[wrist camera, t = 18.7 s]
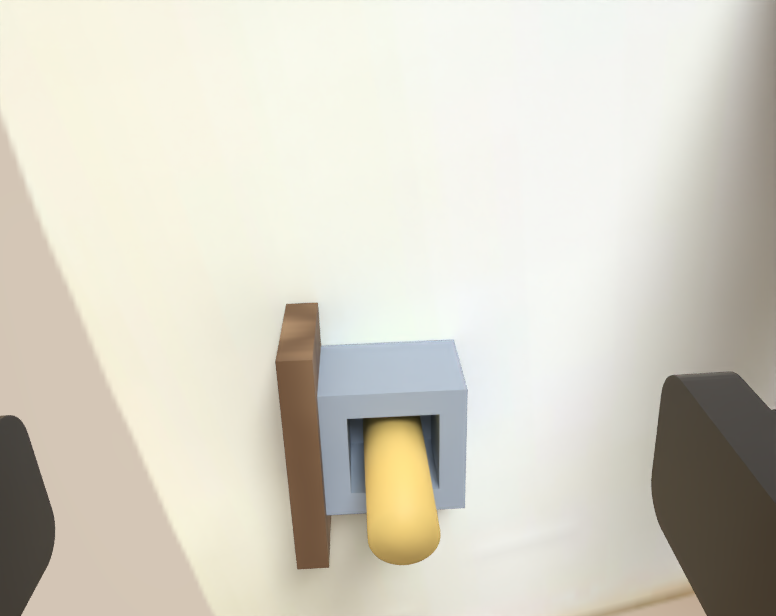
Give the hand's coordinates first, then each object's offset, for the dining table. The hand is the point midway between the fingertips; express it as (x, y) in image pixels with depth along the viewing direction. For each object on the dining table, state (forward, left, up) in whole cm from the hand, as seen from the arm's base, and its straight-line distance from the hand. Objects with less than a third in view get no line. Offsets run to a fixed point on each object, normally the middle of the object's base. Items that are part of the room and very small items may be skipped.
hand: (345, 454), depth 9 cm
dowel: (-1, +16, -26) cm, 30 cm away
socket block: (-1, +16, -26) cm, 31 cm away
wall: (+3, +16, -26) cm, 31 cm away
